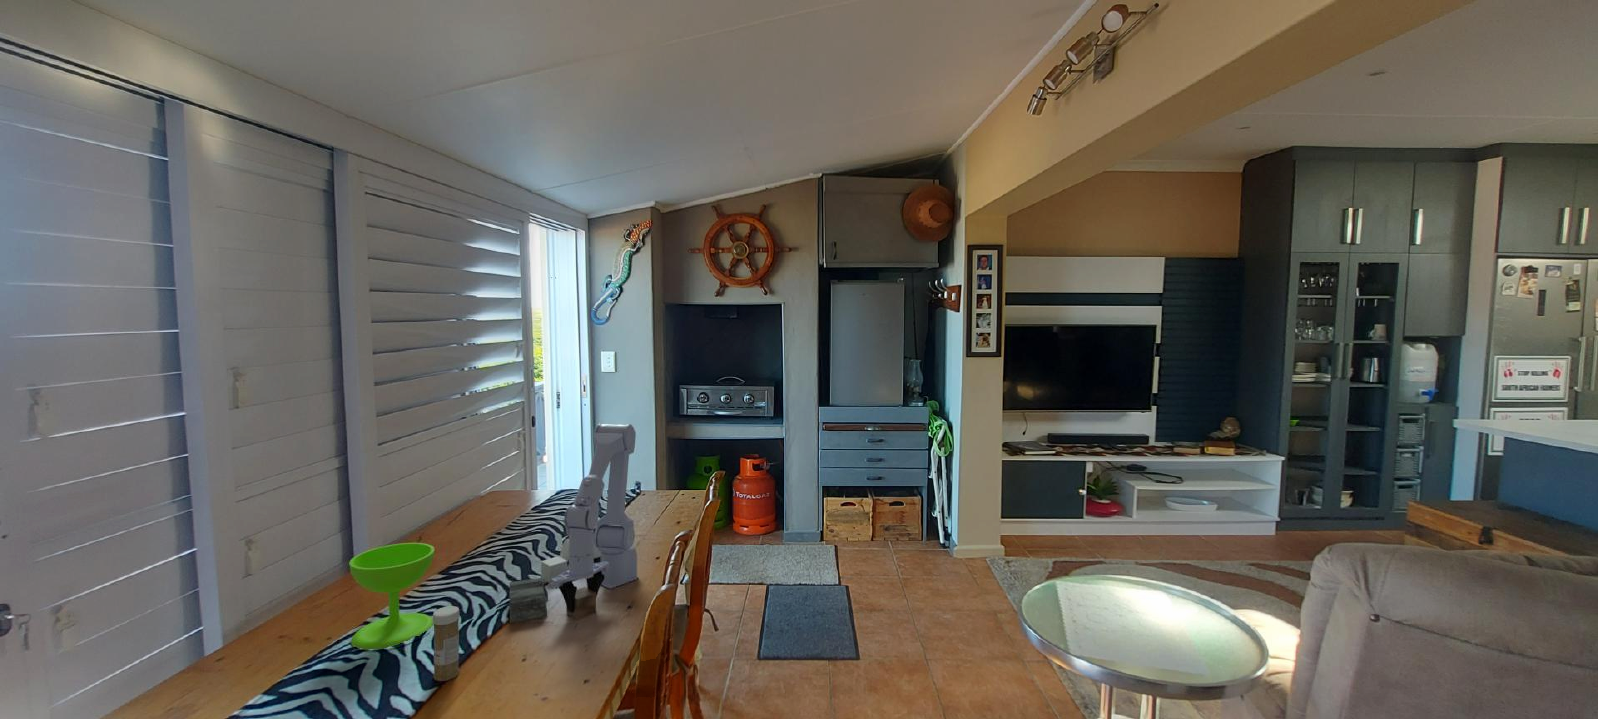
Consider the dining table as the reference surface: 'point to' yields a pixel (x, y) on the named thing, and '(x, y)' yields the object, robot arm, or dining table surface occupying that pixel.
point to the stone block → (527, 600)
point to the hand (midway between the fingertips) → (581, 607)
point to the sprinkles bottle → (446, 643)
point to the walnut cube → (584, 603)
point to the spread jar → (565, 550)
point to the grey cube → (552, 568)
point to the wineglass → (392, 591)
